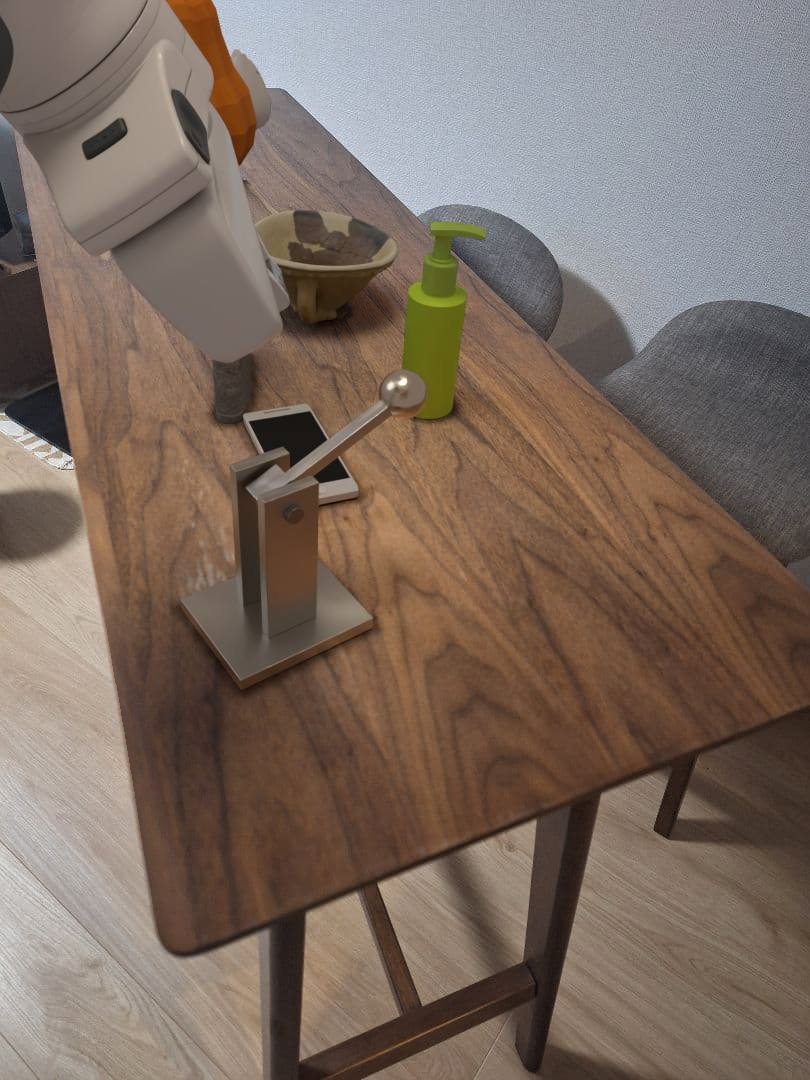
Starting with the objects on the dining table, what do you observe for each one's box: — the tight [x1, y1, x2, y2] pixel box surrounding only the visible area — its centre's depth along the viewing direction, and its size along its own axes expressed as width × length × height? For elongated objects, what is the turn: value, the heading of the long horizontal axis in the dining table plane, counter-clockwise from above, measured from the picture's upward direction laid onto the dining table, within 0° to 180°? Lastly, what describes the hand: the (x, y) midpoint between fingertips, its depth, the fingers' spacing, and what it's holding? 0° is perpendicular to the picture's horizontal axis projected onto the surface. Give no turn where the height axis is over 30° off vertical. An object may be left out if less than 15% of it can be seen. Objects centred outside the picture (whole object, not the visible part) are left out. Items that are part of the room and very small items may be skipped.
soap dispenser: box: [401, 221, 487, 420], centre depth 93 cm, size 6×7×20 cm
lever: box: [246, 369, 427, 506], centre depth 66 cm, size 15×4×4 cm, turn 126°
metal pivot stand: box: [179, 447, 374, 691], centre depth 69 cm, size 12×10×15 cm
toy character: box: [230, 48, 273, 131], centre depth 159 cm, size 10×10×12 cm
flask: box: [211, 352, 253, 425], centre depth 93 cm, size 4×14×18 cm, turn 6°
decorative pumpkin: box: [166, 0, 257, 167], centre depth 134 cm, size 24×24×30 cm
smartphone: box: [242, 403, 360, 506], centre depth 90 cm, size 7×15×1 cm, turn 23°
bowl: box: [254, 209, 399, 325], centre depth 111 cm, size 18×18×10 cm
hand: (275, 296), depth 53 cm, fingers closed
